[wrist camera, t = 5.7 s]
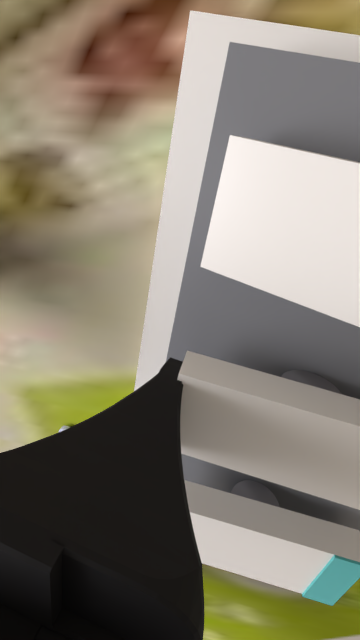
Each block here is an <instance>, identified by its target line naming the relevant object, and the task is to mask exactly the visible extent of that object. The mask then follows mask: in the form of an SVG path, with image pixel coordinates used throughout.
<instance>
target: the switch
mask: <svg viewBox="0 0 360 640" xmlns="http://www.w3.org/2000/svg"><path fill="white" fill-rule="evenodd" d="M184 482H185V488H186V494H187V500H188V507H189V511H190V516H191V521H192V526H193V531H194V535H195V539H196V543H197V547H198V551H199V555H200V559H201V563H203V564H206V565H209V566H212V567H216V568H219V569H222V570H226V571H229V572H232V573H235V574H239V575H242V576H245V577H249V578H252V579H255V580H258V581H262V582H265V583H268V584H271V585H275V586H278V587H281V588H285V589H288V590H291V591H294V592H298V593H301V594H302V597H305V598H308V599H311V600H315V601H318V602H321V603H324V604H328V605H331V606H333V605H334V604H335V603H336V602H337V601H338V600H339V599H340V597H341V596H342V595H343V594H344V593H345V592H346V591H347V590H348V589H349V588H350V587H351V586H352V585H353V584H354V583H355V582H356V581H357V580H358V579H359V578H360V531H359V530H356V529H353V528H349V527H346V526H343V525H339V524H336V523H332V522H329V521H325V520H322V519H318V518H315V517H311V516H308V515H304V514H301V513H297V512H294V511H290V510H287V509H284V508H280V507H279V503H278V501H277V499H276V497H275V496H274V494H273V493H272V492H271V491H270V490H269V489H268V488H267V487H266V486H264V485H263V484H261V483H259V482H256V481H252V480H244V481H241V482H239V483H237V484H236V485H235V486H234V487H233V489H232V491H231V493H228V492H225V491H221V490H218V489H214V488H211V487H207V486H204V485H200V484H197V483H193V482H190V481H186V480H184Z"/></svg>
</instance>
